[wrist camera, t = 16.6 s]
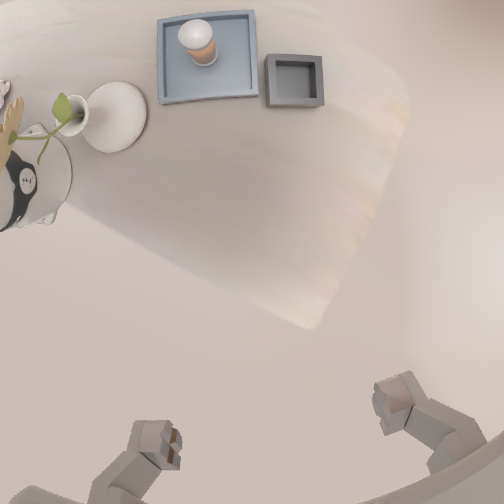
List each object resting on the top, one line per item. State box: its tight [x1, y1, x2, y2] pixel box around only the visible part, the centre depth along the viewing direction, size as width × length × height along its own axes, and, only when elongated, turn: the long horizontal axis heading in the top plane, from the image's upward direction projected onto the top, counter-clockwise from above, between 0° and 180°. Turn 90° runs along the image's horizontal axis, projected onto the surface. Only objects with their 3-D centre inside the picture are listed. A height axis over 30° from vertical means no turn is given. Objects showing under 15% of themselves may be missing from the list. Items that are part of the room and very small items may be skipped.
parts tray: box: [157, 10, 259, 105], centre depth 33 cm, size 14×14×2 cm
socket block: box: [264, 54, 324, 108], centre depth 35 cm, size 7×7×4 cm
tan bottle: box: [178, 19, 218, 67], centre depth 29 cm, size 4×4×11 cm
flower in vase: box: [0, 81, 147, 174], centre depth 26 cm, size 13×11×25 cm
